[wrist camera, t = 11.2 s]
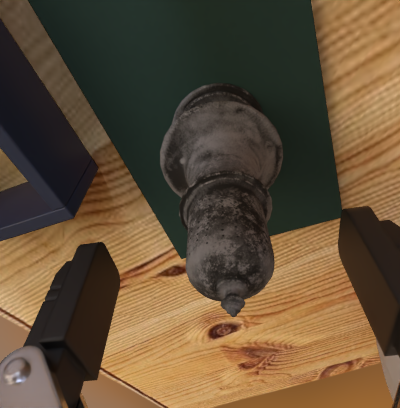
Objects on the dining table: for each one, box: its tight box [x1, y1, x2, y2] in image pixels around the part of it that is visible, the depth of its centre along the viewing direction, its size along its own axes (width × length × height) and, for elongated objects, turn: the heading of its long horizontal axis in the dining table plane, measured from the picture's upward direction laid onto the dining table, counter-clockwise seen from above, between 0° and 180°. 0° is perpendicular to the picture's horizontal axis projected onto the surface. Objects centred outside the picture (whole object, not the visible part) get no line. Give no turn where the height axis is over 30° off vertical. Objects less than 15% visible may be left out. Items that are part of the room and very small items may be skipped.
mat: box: [28, 0, 342, 259], centre depth 18 cm, size 20×12×1 cm, turn 21°
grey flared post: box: [160, 83, 283, 317], centre depth 14 cm, size 6×6×12 cm
